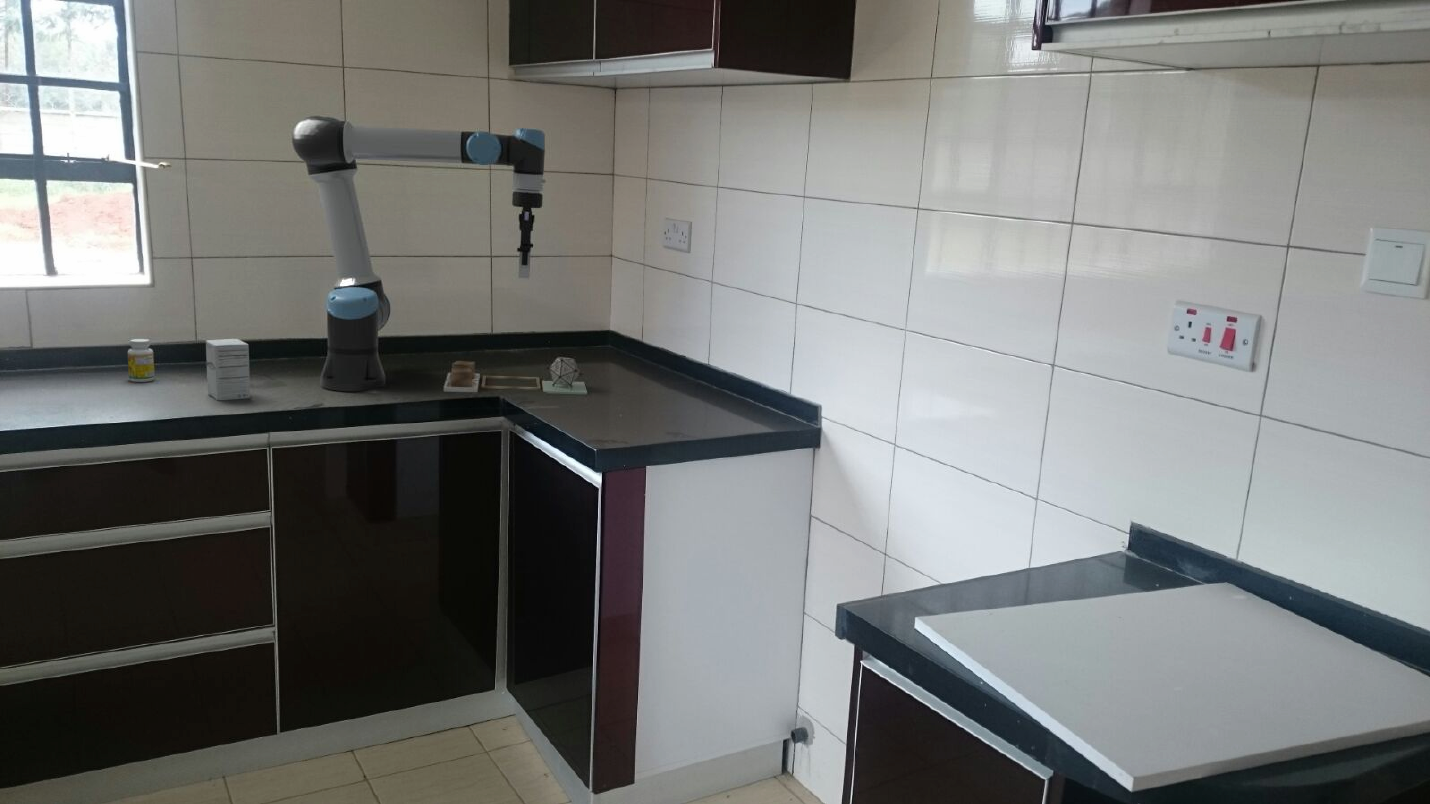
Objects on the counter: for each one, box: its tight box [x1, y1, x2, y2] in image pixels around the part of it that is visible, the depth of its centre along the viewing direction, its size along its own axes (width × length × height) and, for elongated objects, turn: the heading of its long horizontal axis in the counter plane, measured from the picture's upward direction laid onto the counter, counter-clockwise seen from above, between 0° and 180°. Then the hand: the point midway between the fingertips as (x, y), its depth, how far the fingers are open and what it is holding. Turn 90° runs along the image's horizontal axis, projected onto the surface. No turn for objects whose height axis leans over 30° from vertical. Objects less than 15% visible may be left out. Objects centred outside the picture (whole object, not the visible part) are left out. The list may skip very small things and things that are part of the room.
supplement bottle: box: [127, 338, 155, 383], centre depth 251 cm, size 5×5×10 cm
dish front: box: [443, 380, 480, 393], centre depth 264 cm, size 8×8×2 cm
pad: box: [541, 380, 588, 396], centre depth 274 cm, size 11×13×1 cm
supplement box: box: [205, 338, 251, 401], centre depth 241 cm, size 7×7×13 cm
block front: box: [450, 368, 472, 387], centre depth 263 cm, size 4×4×4 cm
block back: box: [451, 360, 476, 379], centre depth 273 cm, size 4×4×4 cm
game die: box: [545, 353, 584, 388], centre depth 273 cm, size 9×8×10 cm
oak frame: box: [480, 375, 542, 391], centre depth 273 cm, size 15×14×1 cm
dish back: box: [445, 372, 481, 383], centre depth 273 cm, size 8×8×2 cm
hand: (524, 275), depth 274 cm, fingers open, 13 cm apart
